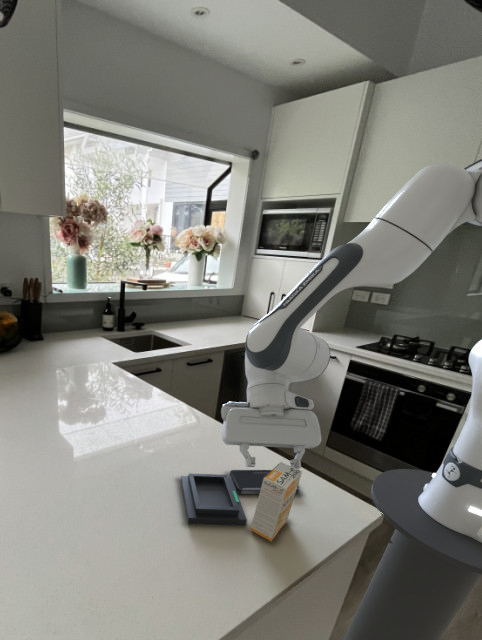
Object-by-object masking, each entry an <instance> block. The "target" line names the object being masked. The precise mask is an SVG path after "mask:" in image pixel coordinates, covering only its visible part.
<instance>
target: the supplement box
mask: <svg viewBox="0 0 482 640" xmlns="http://www.w3.org/2000/svg"><path fill="white" fill-rule="evenodd" d="M271 470H272V471H271V472H270V473H269V474H268V475H267V476H266V477H264V479H263V482H262V487H261V491H260V494H258V499H257V502H256V507H255V511H254V515H253V519H252V523H251V527H250V531H251V532H253V533H255V534H256V535H258V536H260V537H262V538H263V539H266V540H267V541H268V542H272V541H273V540H274V539H275V538H276V536H277V535H278V533H279V531H280V530H281V529H282V528H283V526H285V524H286V523H287V521H288V519H289V517H290V513H291V510H292V506H293V502H294V500H295V496H296V494H295V493H296V490H297V487H298V486H299V484H300V480H301V477H302V474H303V471H302V470H301V469H296V468H294V467H291V465H289V464H286V463H284V462H282V461H280V462H278V464H277V465H276V466H274V468H272V469H271Z"/></svg>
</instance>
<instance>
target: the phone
mask: <svg viewBox="0 0 482 640" xmlns="http://www.w3.org/2000/svg"><path fill="white" fill-rule="evenodd" d="M272 470H273V469H232V470H230V471H229V474H228V475H229V476H228V477H229V478H231V479H232V481H233V484H234V487H235V489H236V492H237V494H240V495H260V491H261V487H262V482H263V479H264V477H266V476H267V475H268V474H269V473H270V472H271V471H272ZM299 492H300V486H299V485H298V487H297V490H296V493H295V495H297V494H299Z"/></svg>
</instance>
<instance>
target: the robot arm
mask: <svg viewBox="0 0 482 640" xmlns="http://www.w3.org/2000/svg"><path fill="white" fill-rule="evenodd" d="M461 225H466V226H473V227H476V226H479V227H482V158H480V159H479V160H477V161H475V162H473V163H471V164H469V165H468V166H466V167H462V166H460V165H458V164H455V163H450V162H435V163H434V162H433V163H432V164H429V165H426V166H425V167H423V168H421V169H420V170H419V171H418V172H416V173H415V174H414V175H413V177H411V178H410V179H409V180H408V181H407V182H405V184H404V185H403V186H402V187H401V188H399V190H397V192H396V193H395V194H394V195H393V196H392V197H391V198H390V199H389V200H388V201H387V203H386V204H385V205H384V206H383V207H382V208H381V209H380V211H379V212H378V213H377V214H376V215H375V217H374V218H373V219H372V220H371V221H370V223H368V225H367V226H366V227H365V228H364V229H363V230H362V231H361V232H360V233H359V234H357V235H356V236H355V237H354V238H352V239H351V240H350V241H348V242H347V243H343V244H340V245H338V246H336V247H335V248H333V249H332V250H331V251H330V252H328V253H327V254H326V255H325V256H324V257H323V258H322V259H321V260H319V262H317V263H316V265H314V267H313V268H312V269H311V270H310V271H309V272H308V273H307V274H306V275H305V276H304V277H303V278H302V279H301V280H300V281H299V282H298V283H297V284H296V285H295V287H293V288H292V290H291V291H290V292H288V294H287V295H286V296H285V297H284V298H283V299H281V301H280V302H279V303H278V304H277V305H276V306H274V308H273V309H272V310H271V311H270V312H268V313H267V314H265V315H264V316H262V317H261V319H259V320H257V322H255V324H253V326H252V327H251V328H250V329H249V331H248V333H247V335H246V338H245V345H244V346H245V353H244V371H245V378H246V381H247V387H246V401H245V402H244V401H239V402H236V401H228V402H227V403H224V404H222V406H221V410H220V414H221V419H222V420H223V424H222V432H221V435H222V436H221V438H222V441H223V443H224V444H225V445H227V446H239V452H240V454H241V455H242V456H243V458H244V459H245V467H246V468H255V467H256V465H257V463H256V457H255V456H251V454H250V452H249V450H250V447H268V448H290V449H293V453H295V456H294V458H292V459H290V460H289V464H290V466H291V467H294V468H296V469H298V470H301V468H302V461H301V460H302V459H303V457H304V454H305V452H306V449H308V450H309V449H310V450H311V449H315V448H317V447H319V446H320V445H321V442H322V433H321V427H320V422H319V419H318V416H317V415H316V413H315V412H314V411H312V410H313V409H314V407H315V403H314V401H313V400H312V399H311V398H308V397H305V396H302V395H300V394H297V393H294V392H292V391H290V389H289V388H290V387H289V386H290V384H292V383H302V382H308V381H312V380H314V379H317V378H319V377H320V376H321V375H322V374H324V373H325V372H326V369H327V368H328V367H329V363H330V360H331V349H330V346H329V344H328V343H327V341H325V339H322V337H321V338H320V337H319V336H317V335H315V334H314V333H311V332H310V331H306V330H304V329H302V327H303V326H304V325H305V324H306V323H307V322H308V321H309V320H310V319H311V318H312V317H313V316H314V315H315V314H316V313H317V312H318V311H319V310H320V309H321V308H322V307H323V306H324V305H325V304H326V303H327V302H328V301H329V300H330V299H331V298H333V296H336V295H337V294H338V293H340V292H342V291H344V290H347V289H351V288H358V287H359V288H361V287H369V288H381V287H387V286H392V285H395V284H398V283H400V282H402V281H403V280H405V279H406V278H408V277H409V276H410V275H412V274H413V273H414V272H415V271H416V270H418V268H419V267H420V266H421V265H422V264H423V263H424V262H425V261H426V260H427V258H429V256H431V255H432V253H433V252H434V251H435V250H436V249H437V247H438V246H439V245H440V244H441V243H442V242H443V240H444V239H445V238H446V237H447V236H448V235H449V234H451V233H452V232H453V231H454V230H455V229H456V228H458V227H460V226H461ZM468 365H469V368H470V370H471V376H472V385H471V386H472V387H471V396H470V404H469V410H468V414H467V417H466V419H465V423H464V424H463V427H462V429H461V432H460V434H459V436H458V437H457V440H456V442H455V443H454V446H452V447H450V449H449V450H448V452H447V453H446V454H445V458H444V460H443V462H442V464H441V465H440V467H439V468H438V469H437V471H436V472H432V473H433V475H432V477H433V478H432V480H431V481H430V483H429V484H425V486H424V488H423V490H424V492H423V493H422V494H421V495H420V496H419V498H418V502H419V504H420V506H421V508H422V509H423V510H424V511H425V512H426V513H427V514H428V515H429V516H430V517H432V518H433V519H434V520H436V521H437V522H439V523H440V524H442V525H444V526H446V527H448V528H450V529H452V530H454V531H456V532H459V533H461V534H464V535H467V536H469V537H472V538H474V539H475V540H477V541H479V542H481V543H482V339H480V340H479V341H478V342H476V344H475V345H474V346H473V347H472V349H471V350H470V352H469V354H468Z"/></svg>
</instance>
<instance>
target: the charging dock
mask: <svg viewBox="0 0 482 640" xmlns="http://www.w3.org/2000/svg"><path fill="white" fill-rule="evenodd" d="M180 485H181V492H182V497H183V502H184V503H183V504H184V509H185V515H186V521H187V524H196V525H197V524H198V525H199V524H201V525H231V526H232V525H233V526H246V525H247V521H248V519H247V516H246V514H245V511H244V509H243V506H242V503H241V501H240V498H239V495H238V492H237V491H236V489H235V487H234V484H233V481H232V479H231V478H230V476H228V475H227V474H219V473H216V474H215V473H192V472H189V473H188V474H187V475H181V476H180Z"/></svg>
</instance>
